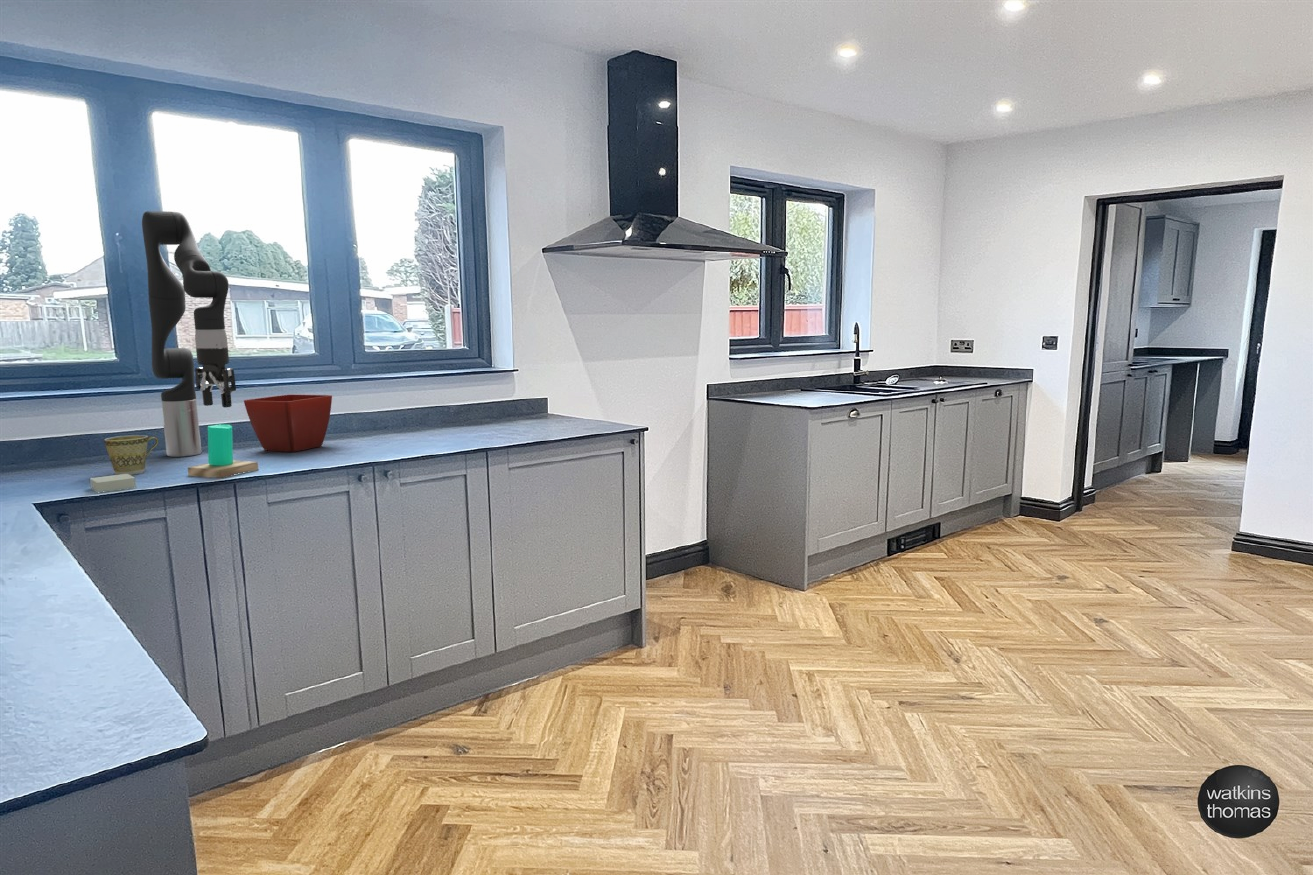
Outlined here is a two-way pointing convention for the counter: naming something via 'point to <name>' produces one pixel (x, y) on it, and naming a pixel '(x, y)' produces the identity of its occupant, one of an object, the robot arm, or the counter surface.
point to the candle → (220, 445)
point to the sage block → (112, 482)
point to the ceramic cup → (128, 453)
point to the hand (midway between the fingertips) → (217, 406)
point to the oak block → (222, 469)
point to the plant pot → (290, 421)
